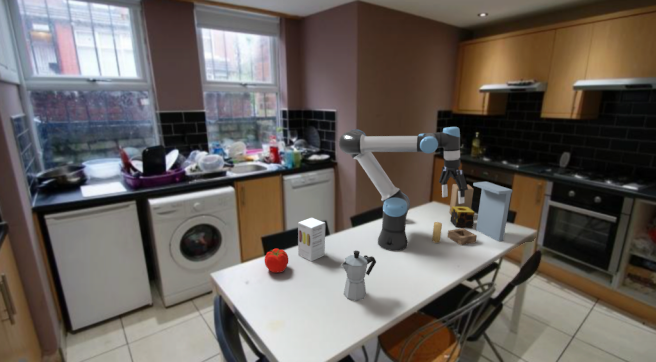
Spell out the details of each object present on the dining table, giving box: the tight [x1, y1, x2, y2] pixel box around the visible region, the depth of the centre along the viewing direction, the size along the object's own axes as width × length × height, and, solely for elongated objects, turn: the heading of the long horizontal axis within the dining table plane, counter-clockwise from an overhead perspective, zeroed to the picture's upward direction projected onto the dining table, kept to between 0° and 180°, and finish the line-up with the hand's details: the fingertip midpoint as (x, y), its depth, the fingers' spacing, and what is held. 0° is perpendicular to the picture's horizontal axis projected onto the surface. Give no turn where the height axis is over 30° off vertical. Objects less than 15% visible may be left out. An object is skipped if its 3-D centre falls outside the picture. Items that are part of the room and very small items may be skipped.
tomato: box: [264, 248, 289, 274], centre depth 137 cm, size 11×11×9 cm
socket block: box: [447, 228, 478, 246], centre depth 169 cm, size 10×10×4 cm
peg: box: [431, 221, 443, 244], centre depth 167 cm, size 4×4×10 cm
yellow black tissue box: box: [450, 207, 476, 229], centre depth 189 cm, size 10×10×10 cm
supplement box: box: [297, 217, 326, 262], centre depth 150 cm, size 10×9×17 cm
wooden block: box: [448, 183, 474, 215], centre depth 202 cm, size 10×10×20 cm
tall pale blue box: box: [473, 181, 513, 243], centre depth 171 cm, size 9×17×28 cm, turn 20°
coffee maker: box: [340, 250, 377, 302], centre depth 120 cm, size 15×9×18 cm, turn 114°
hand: (452, 199), depth 162 cm, fingers open, 13 cm apart
